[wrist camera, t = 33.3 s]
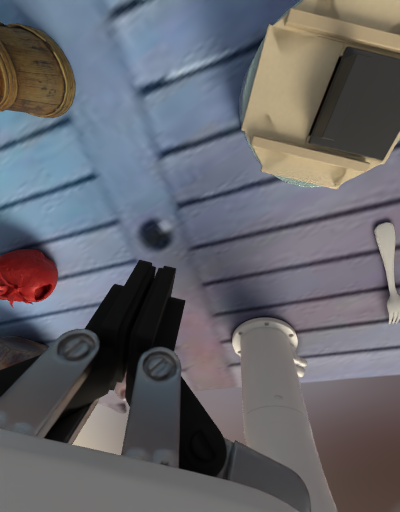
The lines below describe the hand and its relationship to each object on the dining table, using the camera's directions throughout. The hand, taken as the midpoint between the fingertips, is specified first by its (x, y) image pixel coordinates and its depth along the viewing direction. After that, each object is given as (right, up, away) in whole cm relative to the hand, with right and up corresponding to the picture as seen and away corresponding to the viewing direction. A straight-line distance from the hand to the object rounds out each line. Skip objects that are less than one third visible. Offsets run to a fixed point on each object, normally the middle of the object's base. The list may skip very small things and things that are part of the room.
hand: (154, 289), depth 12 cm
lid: (+13, +14, +10) cm, 22 cm away
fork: (+32, -3, +26) cm, 41 cm away
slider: (+15, +13, +9) cm, 22 cm away
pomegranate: (-28, 0, +35) cm, 45 cm away
